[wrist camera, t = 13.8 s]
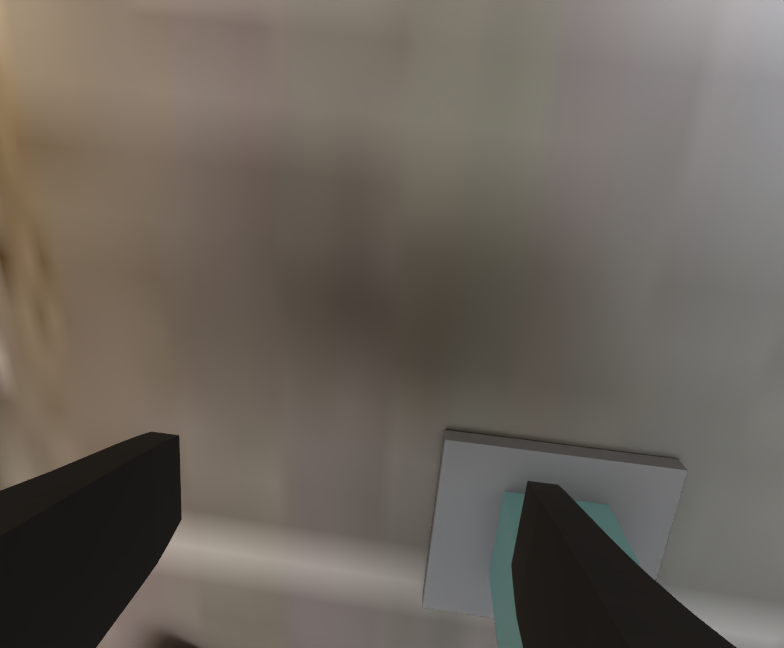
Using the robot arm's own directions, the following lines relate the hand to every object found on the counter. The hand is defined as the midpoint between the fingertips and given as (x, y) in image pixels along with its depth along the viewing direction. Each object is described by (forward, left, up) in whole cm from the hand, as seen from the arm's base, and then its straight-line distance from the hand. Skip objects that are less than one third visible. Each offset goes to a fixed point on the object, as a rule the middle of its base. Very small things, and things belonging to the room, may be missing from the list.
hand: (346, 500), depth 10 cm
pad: (-7, +7, -9) cm, 14 cm away
